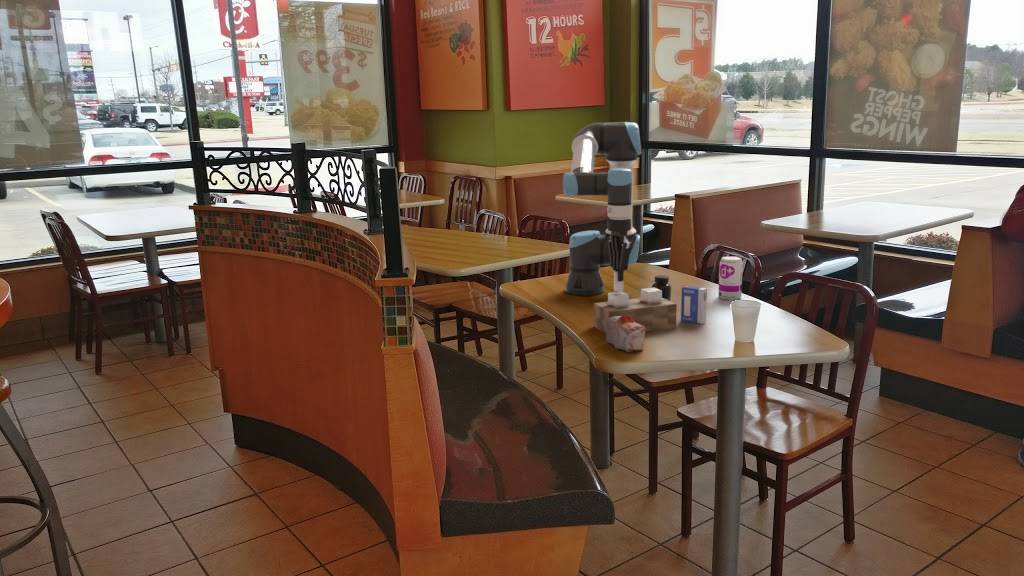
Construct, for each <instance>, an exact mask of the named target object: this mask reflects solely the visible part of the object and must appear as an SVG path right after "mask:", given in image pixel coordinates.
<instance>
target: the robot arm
mask: <svg viewBox="0 0 1024 576" xmlns="http://www.w3.org/2000/svg"><path fill="white" fill-rule="evenodd" d="M571 152H572V161H571V167H570V172H565V173H564V174H563V175H562V176H563V178H562V191H563V194H564V195H566V196H573V197H577V196H578V197H579V196H607V208H606V211H607V217H608V219H606V220H607V222H606V227H607V228H606V229H605V234H601V233H600V231H599V230H596V229H595V230H585V231H579V232H575V233H573V234H571V236H570V237H569V246H568V248H569V273H568V275H567V278H566V281H565V285H564V291H566V292H567V293H566V292H565V293H566V294H569V293H570V294H569V295H574V296H596V295H600V294H602V293H604V292H605V284H604V281H603V278H602V275H601V272H600V269H601V268H600V266H610V268H612V270H613V292H618V291H623V292H624V280H625V279H624V273H625V271H628V269H629V266H632V265H633V266H634V265H635V264H636V263H637V262H638V261H637V260H638V256H639V249H640V243H641V242H640V240H641V235H640V234H637V230H636V228H635V227H634V226H633V211H634V210H633V207H634V206H633V204H634V203H633V201H634V196H633V195H634V164H635V163H636V162H637V160H638V156H640V155H642V144H641V136H640V128H639V124H638V123H636V122H633V121H632V122H630V121H617V122H615V121H614V122H593V123H590V124H587V125H586V126H584V127H583V128H581V129H580V130H579V131H578V132H577V133H576V134H575V136H573V138H572V142H571ZM597 155H599V156H600V155H601V156H603V155H604V156H605V161H607V162H608V164H609V169H608V171H607V172H606V171H603V172H600V171H599V172H594V169H595V168H594V167H595V156H597Z"/></svg>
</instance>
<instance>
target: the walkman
mask: <svg viewBox="0 0 1024 576" xmlns="http://www.w3.org/2000/svg"><path fill="white" fill-rule="evenodd" d="M707 297H708V288H707V287H699V286H689V285H684V286H682V287H681V299H680V300H681V301H680V302H681V303H680V304H681V305H680V307H681V308H680V321H681V322H685V323H690V324H698V323H700V325H703V324H705V322H706V323H707V305H708V304H707V299H708V298H707Z"/></svg>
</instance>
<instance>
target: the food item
mask: <svg viewBox="0 0 1024 576" xmlns="http://www.w3.org/2000/svg"><path fill="white" fill-rule="evenodd" d="M606 322H607V323H606V334H605V342H606V343H608V344H611V345H612V346H614V349H618V350H622V351H624V350H625V352H626V353H633V351H635V352H640V351H641V352H642V351H644V344H645V339H646V336H645V335H646V332H645V326H642V325H640V324H638V323H635V322H634V319H633V318H632V316H629V317H628V316H625V315H624V316H614V317H610V318H608V319H607V320H606Z"/></svg>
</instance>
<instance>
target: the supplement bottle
mask: <svg viewBox="0 0 1024 576" xmlns="http://www.w3.org/2000/svg"><path fill="white" fill-rule="evenodd" d="M669 280H670V279H669V276H667V275H662V274H659V275H655V276H654V280H653V281H654V282H655V283H653V284H652V285H651V288H657V289H659V290H661V291H662V298H664V299H666V300H669V301H671V300H672V285H671V284H670V283H669V282H670V281H669ZM671 302H672V301H671Z"/></svg>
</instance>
